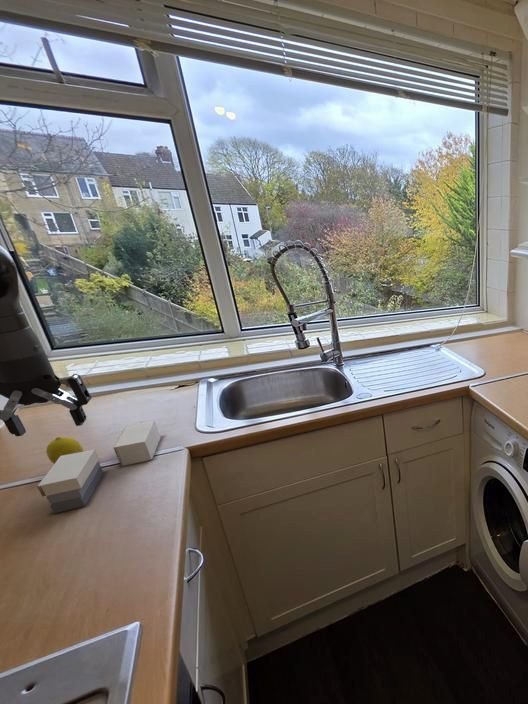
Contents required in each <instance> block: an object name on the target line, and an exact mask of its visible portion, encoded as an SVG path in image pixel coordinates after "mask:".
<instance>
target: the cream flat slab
mask: <svg viewBox="0 0 528 704" xmlns="http://www.w3.org/2000/svg"><path fill="white" fill-rule="evenodd" d="M99 460H100V458H99V456H98V453H97V451H96V449H90V450H89V449H88V450H83V452H78V453H73V454H68V455H63V456H60V457H59V458H58V460H57V461H56V462H55V464H54V463H53V465H52V466H51V467H50V469H49V470H48V471H47V473H46V474H45V475H44V476H43V478H42V479H41V480H40V482H39V483H38V484H37V485H36V488H37V489H38V491H39V493H40V495H41V497H42V498H44V497H47V496H49V495H53V494H58V493H62V492H67V491H71V490H76V489H80V488H82V486H83V485H84V483H85V481H86V480H87V478H88V476H89V475H90V473H91V471H92V470H93V468H94V466H95V465H96V463H97V461H98V462H99Z"/></svg>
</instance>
